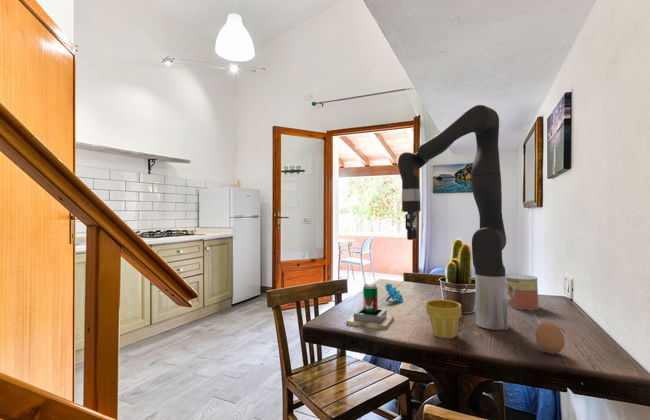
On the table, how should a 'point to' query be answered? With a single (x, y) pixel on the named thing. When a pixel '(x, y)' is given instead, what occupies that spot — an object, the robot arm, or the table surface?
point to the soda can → (370, 299)
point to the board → (383, 325)
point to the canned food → (522, 291)
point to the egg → (549, 338)
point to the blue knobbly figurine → (393, 293)
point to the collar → (370, 316)
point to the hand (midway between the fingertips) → (411, 239)
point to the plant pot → (444, 317)
